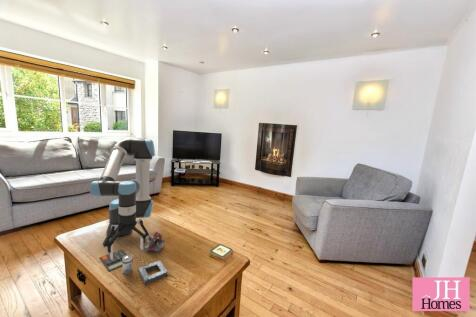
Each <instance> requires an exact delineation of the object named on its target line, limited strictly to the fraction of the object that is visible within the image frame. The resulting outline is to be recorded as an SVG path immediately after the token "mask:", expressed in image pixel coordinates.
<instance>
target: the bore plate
mask: <svg viewBox="0 0 476 317" xmlns="http://www.w3.org/2000/svg"><path fill="white" fill-rule="evenodd" d="M137 269H138V270H137V271H138V274H139V276H140V277H141V280H142V282H143V284H144V285H147V284H150V283H152V282H155V281H157V280H160V279H162V278H164V277H167V276H168V270H167V268H166V267H165V265H164V264H163V263H162V261H161V260H157V261H154V262H151V263H148V264H145V265H142V266H139V267H138V268H137ZM155 269H157V271H158V272H155V273H152V274H150V275H149V274H148V271H152V270H155Z"/></svg>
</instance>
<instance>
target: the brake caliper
mask: <svg viewBox="0 0 476 317" xmlns="http://www.w3.org/2000/svg"><path fill="white" fill-rule="evenodd" d="M162 236H163V235H162V234H160V233H159V232H158V231H155V232H154V234H153V235H152V236H151V235H150V234H149V236H146V238H145V240H147V241H146V243H147V245H143V248H145V249H146V250H147V251H148V252H154V253H155V252H156V253H158V252H160V251H161V250H162V249H163V248H164V246H165V240H164V239H163V238H162Z"/></svg>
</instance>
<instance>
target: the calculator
mask: <svg viewBox="0 0 476 317" xmlns="http://www.w3.org/2000/svg"><path fill="white" fill-rule="evenodd" d="M125 255H128V253H126V252H125V250H123V249H118V250H115V251H113V259H112V260H111V258H110V253H108V254H106V255H102V256H100V257H99V260H100V262H101V263H102V264H103V265H104V267H105V268H106V270H107V271H108V272H112V271H115V270H116V269H119V268H122V258H123V256H125ZM132 263H133V260H132Z"/></svg>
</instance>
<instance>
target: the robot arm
mask: <svg viewBox="0 0 476 317" xmlns="http://www.w3.org/2000/svg"><path fill="white" fill-rule="evenodd" d="M128 156H129V157H130V156H132V157H133V160H134V161H135V179H134V178H133V179H130V180H117V178H118V177H119V174H120V170H121V168H122V166H123V162H124V160H125V159H126V158H127V157H128ZM155 156H156V154H155V144H154V141H153V140H152V139H147V138H131V137H128V138H123V139H121V140H119V141H117V142H116V143H115V144H113V146H112V147H111V149H110V152H109V157H108V159H107V162H106V164H105V166H104V169H103V171H102V173H101V175H100V177H99V180H95V181H91V182H90V185H89V193H90V195H91V196H93V197H104V196H105V197H111V196H112V197H114V196H115V197H118V198H116V199H113V200H112V201H110V203H109V204H108V206H109V207H108V217H109V218H108V220H109V221H108V222H109V223H108V226H107V229H106V232H105V234H106V235H105V236H106V237H105V238H104V241H103V243H102V246H103V247H104V248H106V247H107V253H108V254H110V258H111V260H112V259H113V252H114V245H113V244H114V243H115V242H116V241H117V239H121V238H125V237H127V236H129V235H130V234H132V232H133V231H134V232H135V233H137V234H138V235H139V236H140V238H139V240H140V241H139V249H140V250H141V251H144V244H145V243H146V237H147V236H149V235H150V233H149V232H148V230H147V228H146V227H145V225H144V221H143V219H145V218H149V217H151V215H152V212H153V206H154V200H152V197H151V195H150V172H151V171H150V165H151V164H150V163H151V161H152V160H153V157H155ZM137 225H139V226H140V227H141V228H142V230H143V232H142V231H141V230H140V229H138V228H137V227H136V226H137Z"/></svg>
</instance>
